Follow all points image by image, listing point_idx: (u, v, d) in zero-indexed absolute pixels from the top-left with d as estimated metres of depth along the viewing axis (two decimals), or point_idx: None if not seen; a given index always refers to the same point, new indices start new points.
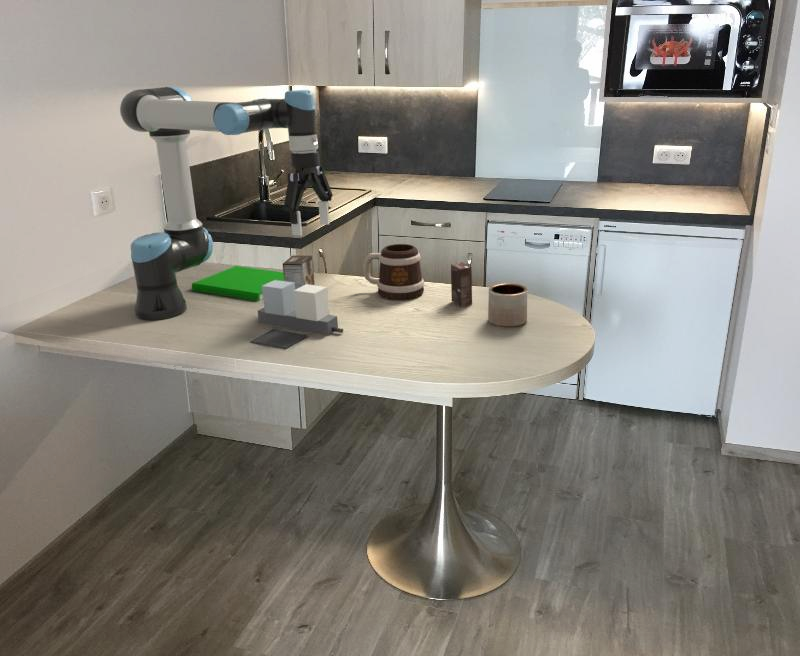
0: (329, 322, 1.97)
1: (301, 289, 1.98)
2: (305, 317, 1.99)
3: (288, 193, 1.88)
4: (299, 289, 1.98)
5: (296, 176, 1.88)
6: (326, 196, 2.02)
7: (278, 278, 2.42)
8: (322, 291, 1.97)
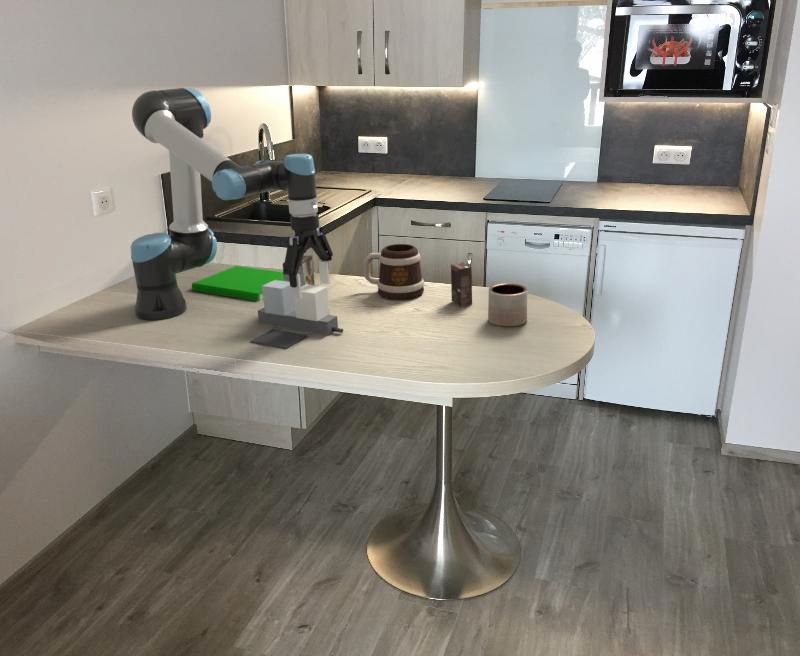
0: (329, 322, 1.97)
1: (301, 289, 1.98)
2: (305, 317, 1.99)
3: (287, 257, 1.88)
4: None
5: (295, 240, 1.87)
6: (326, 256, 2.01)
7: (278, 278, 2.42)
8: (322, 291, 1.97)
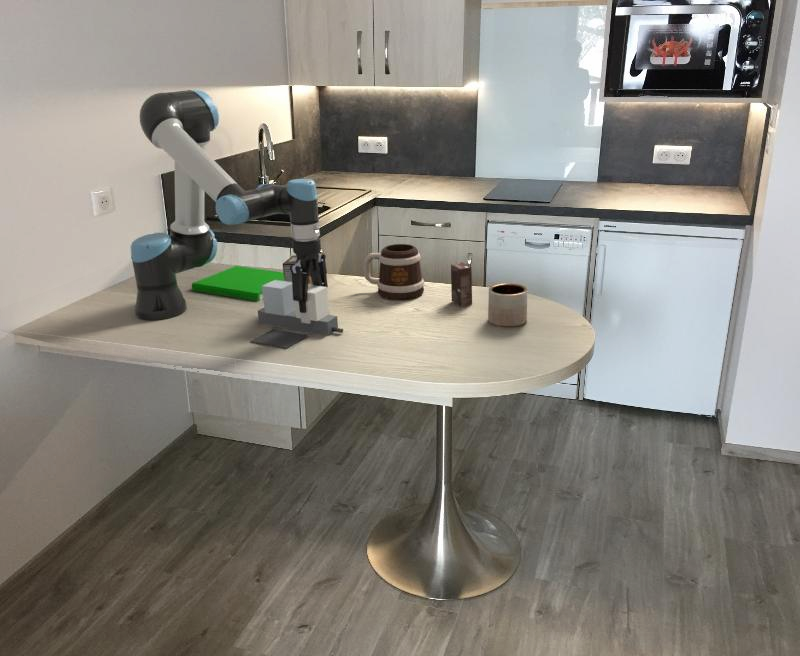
0: (329, 322, 1.97)
1: None
2: None
3: (294, 285, 1.92)
4: None
5: (298, 269, 1.90)
6: None
7: (278, 278, 2.42)
8: (322, 291, 1.97)
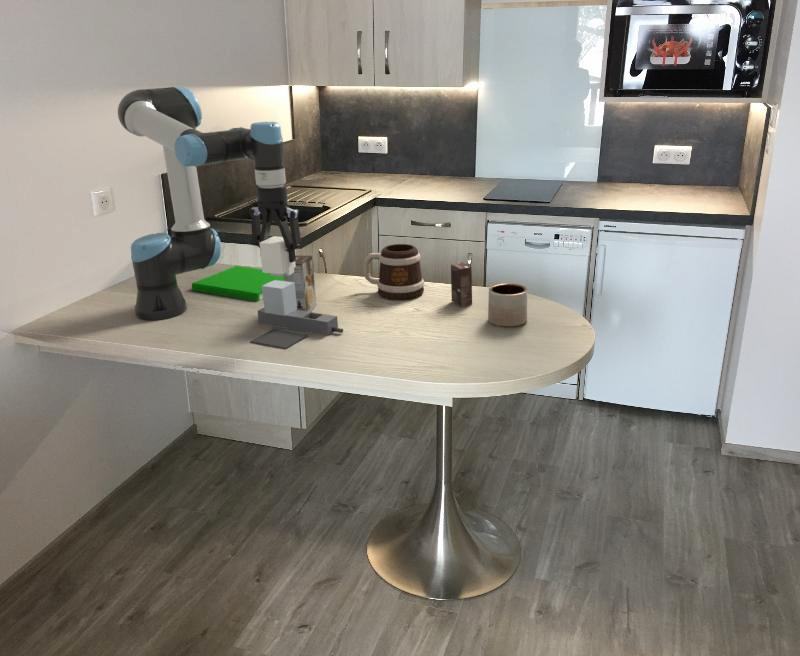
0: (329, 322, 1.97)
1: (275, 238, 1.90)
2: None
3: None
4: (275, 237, 1.91)
5: (250, 212, 1.86)
6: (287, 244, 1.86)
7: (278, 278, 2.41)
8: (271, 245, 1.85)
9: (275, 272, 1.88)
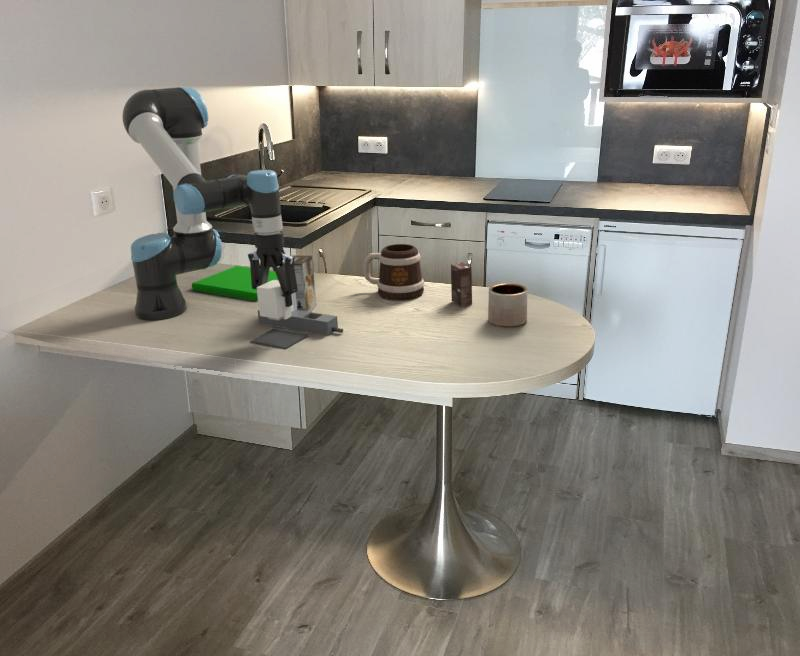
0: (329, 322, 1.97)
1: (274, 282, 1.93)
2: None
3: None
4: (274, 281, 1.93)
5: (249, 256, 1.90)
6: (283, 290, 1.88)
7: None
8: (267, 290, 1.88)
9: (271, 316, 1.90)
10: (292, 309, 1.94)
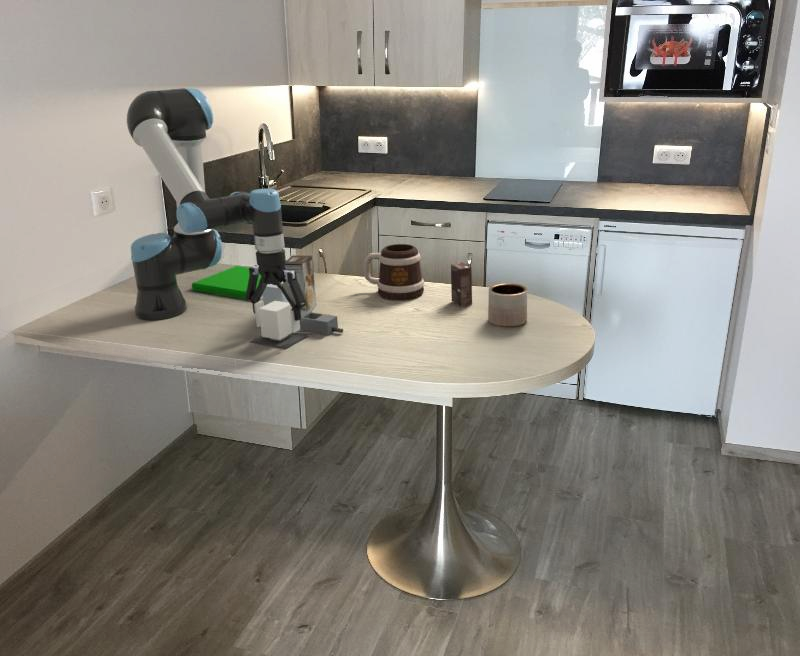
0: (329, 322, 1.97)
1: (276, 303, 1.95)
2: None
3: None
4: (276, 302, 1.96)
5: (250, 270, 1.91)
6: (291, 304, 1.89)
7: None
8: (269, 312, 1.90)
9: (273, 337, 1.92)
10: None
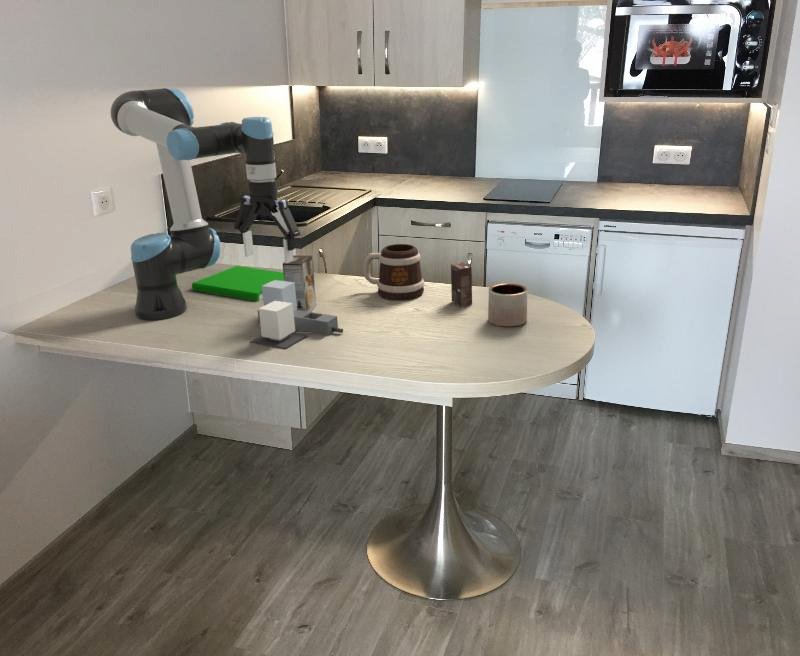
0: (329, 322, 1.97)
1: (276, 303, 1.95)
2: None
3: None
4: (276, 302, 1.96)
5: (241, 199, 1.90)
6: (284, 233, 1.87)
7: (278, 278, 2.41)
8: (269, 312, 1.90)
9: (273, 337, 1.92)
10: (293, 330, 1.97)
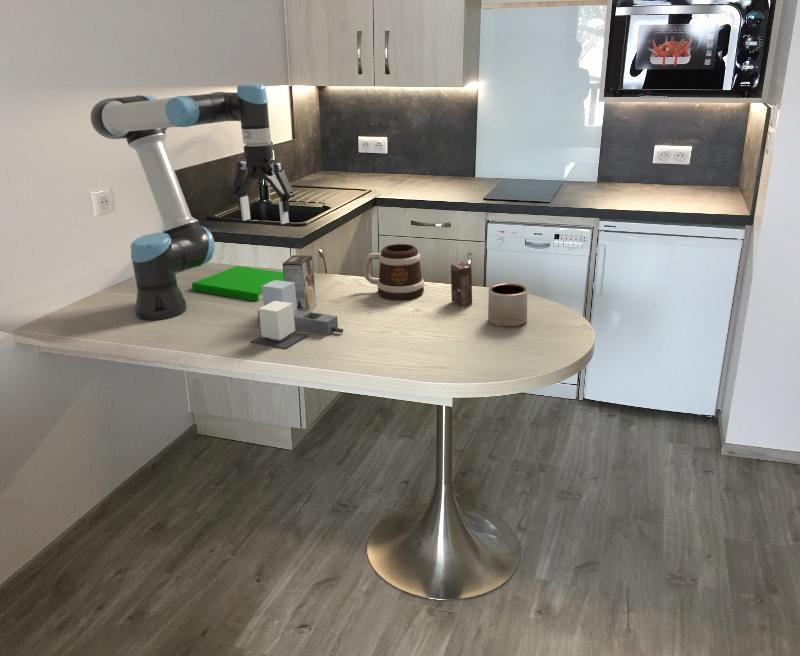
0: (329, 322, 1.97)
1: (276, 303, 1.95)
2: None
3: None
4: (276, 302, 1.96)
5: (238, 164, 1.99)
6: (280, 195, 1.96)
7: (278, 278, 2.41)
8: (269, 312, 1.90)
9: (273, 337, 1.92)
10: (293, 330, 1.97)
